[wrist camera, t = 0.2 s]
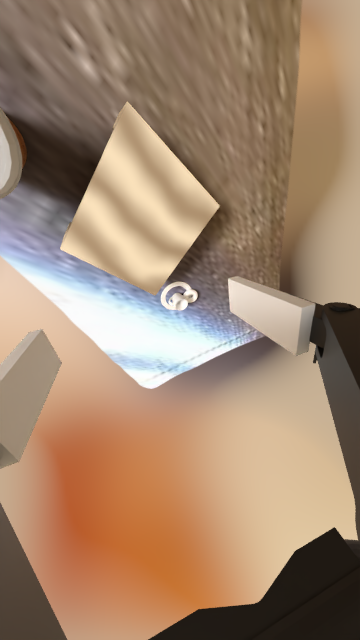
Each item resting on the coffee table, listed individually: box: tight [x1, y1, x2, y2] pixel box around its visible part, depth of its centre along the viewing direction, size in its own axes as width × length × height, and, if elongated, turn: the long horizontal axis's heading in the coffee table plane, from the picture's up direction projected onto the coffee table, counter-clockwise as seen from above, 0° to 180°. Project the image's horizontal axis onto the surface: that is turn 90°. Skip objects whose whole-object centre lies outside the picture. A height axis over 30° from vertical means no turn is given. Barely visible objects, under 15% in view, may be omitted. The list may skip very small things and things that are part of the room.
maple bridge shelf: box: [60, 102, 219, 295], centre depth 30 cm, size 18×16×8 cm
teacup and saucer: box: [161, 282, 198, 310], centre depth 46 cm, size 9×8×4 cm
